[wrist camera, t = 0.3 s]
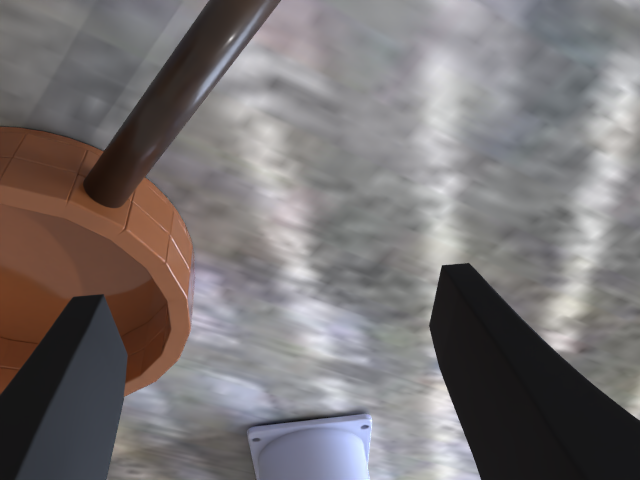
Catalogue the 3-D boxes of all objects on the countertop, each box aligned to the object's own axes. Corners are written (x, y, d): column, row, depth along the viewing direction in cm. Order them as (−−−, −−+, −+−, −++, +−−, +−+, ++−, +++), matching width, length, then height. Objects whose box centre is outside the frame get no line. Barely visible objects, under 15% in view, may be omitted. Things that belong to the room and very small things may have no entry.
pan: (111, 375, 29) (98, 435, 26) (-172, 283, 22) (-226, 351, 20) (251, 231, 23) (253, 289, 20) (-72, 53, 17) (-129, 106, 14)
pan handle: (117, 202, 20) (111, 228, 18) (78, 182, 19) (68, 208, 18) (300, -38, 15) (305, -22, 14) (257, -77, 14) (259, -64, 13)
